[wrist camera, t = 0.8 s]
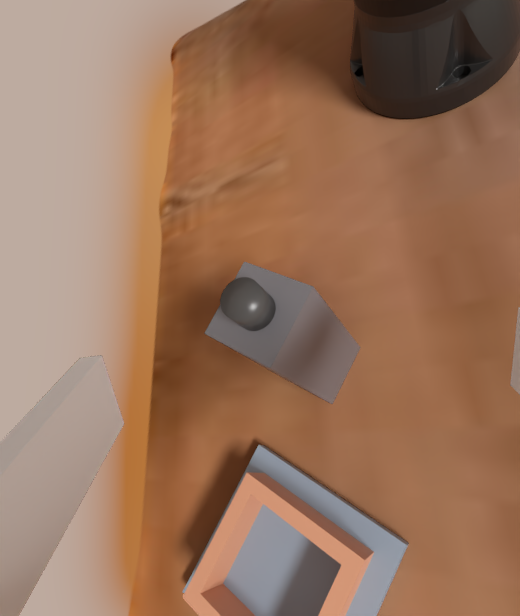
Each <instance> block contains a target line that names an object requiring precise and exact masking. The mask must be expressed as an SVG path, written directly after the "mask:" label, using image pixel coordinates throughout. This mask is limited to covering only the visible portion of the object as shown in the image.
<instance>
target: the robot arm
mask: <svg viewBox="0 0 520 616" xmlns="http://www.w3.org/2000/svg"><path fill="white" fill-rule="evenodd" d="M354 4H355V10H354V22H353V34H352V46H351V57H350V69H351V75H352V79H353V83H354V86H355V90H356V93H357V95H358V97H359V99H360V100H361V102H362V103H363V104H364V105H365V106H366V107H368V108H369V109H370V110H372V111H374V112H376V113H378V114H381V115H384V116H389V117H395V118H418V117H425V116H430V115H435V114H438V113H442V112H445V111H448V110H451V109H453V108H456V107H458V106H460V105H463V104H465V103H467V102H469V101H470V100H472V99H474V98H476V97H477V96H479V95H480V94H482V93H483V92H485V91H486V90H488V89H489V88H490V87H491V86H493V85H494V84H495V83H496V82H497V81H498V80H499V79H500V78H501V77H502V76H503V75H504V74H505V73H506V72H507V71H508V70H509V68H510V67H511V66H512V64H513V63H514V61H515V59H516V58H517V56H518V53H519V51H520V0H354ZM510 385H511V386H512V387H513V388H514V389H515V390H516V391H517V392H518V393H519V394H520V307H519V308H518V317H517V327H516V337H515V346H514V356H513V365H512V375H511V384H510ZM123 425H124V421H123V418H122V415H121V412H120V409H119V406H118V403H117V400H116V397H115V394H114V391H113V388H112V385H111V382H110V378H109V375H108V372H107V369H106V366H105V363H104V360H103V357H102V356H101V355H100V356H92V357H83V358H79V359H78V360H77V361H76V362H75V363H74V365H73V366H72V367H71V368H70V369H69V370H68V371H67V372H66V373H65V374H64V375H63V376H62V378H60V379H59V381H58V382H57V383H56V384H55V385H54V386H53V387H52V388H51V389H50V390H49V391H48V392H47V393H46V394H45V395H44V396H43V397H42V399H41V400H40V401H39V402H38V403H37V404H36V405H35V406H34V407H33V408H32V409H31V410H30V411H29V412H28V413H27V415H26V416H25V417H24V418H23V419H22V420H21V421H20V422H19V423H18V424H17V425H16V426H15V427H14V428H13V429H12V430H11V431H10V433H9V434H8V435H7V436H6V437H5V438H4V439H3V440H2V441H1V442H0V616H19V615H20V613H21V611H22V609H23V607H24V606H25V604H26V602H27V600H28V598H29V597H30V595H31V593H32V591H33V589H34V587H35V586H36V584H37V582H38V580H39V578H40V576H41V575H42V573H43V571H44V569H45V567H46V566H47V564H48V562H49V560H50V558H51V556H52V554H53V552H54V551H55V549H56V547H57V546H58V544H59V542H60V540H61V538H62V536H63V535H64V533H65V531H66V529H67V527H68V525H69V524H70V522H71V520H72V518H73V516H74V515H75V513H76V511H77V509H78V507H79V505H80V504H81V502H82V500H83V498H84V496H85V494H86V493H87V491H88V489H89V487H90V485H91V484H92V482H93V480H94V478H95V476H96V474H97V473H98V470H99V469H100V467H101V465H102V463H103V462H104V460H105V458H106V456H107V454H108V452H109V451H110V449H111V447H112V445H113V443H114V442H115V440H116V438H117V436H118V434H119V432H120V431H121V429H122V427H123Z"/></svg>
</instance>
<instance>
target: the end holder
mask: <svg viewBox="0 0 520 616" xmlns="http://www.w3.org/2000/svg"><path fill="white" fill-rule="evenodd" d="M408 544H409V543H408V542H406V541H405V540H404V539H402V538H401V537H399V536H398V535H396V534H395V533H393V532H392V531H390V530H389V529H387V528H386V527H384V526H383V525H381V524H380V523H378V522H377V521H375V520H374V519H372V518H371V517H369V516H368V515H366V514H365V513H363V512H362V511H361V510H359V509H358V508H356V507H355V506H353V505H352V504H350V503H349V502H347V501H346V500H344V499H343V498H341V497H340V496H338V495H337V494H335V493H334V492H332V491H331V490H329V489H328V488H326V487H325V486H323V485H322V484H321V483H319V482H318V481H316V480H315V479H313V478H312V477H310V476H309V475H307V474H306V473H304V472H303V471H301V470H300V469H298V468H297V467H295V466H294V465H292V464H291V463H289V462H288V461H286V460H285V459H283V458H282V457H280V456H279V455H278V454H276V453H275V452H273V451H272V450H270V449H269V448H267V447H266V446H264V445H258V447H257V449H256V451H255V453H254V455H253V457H252V459H251V460H250V462H249V464H248V466H247V468H246V470H245V472H244V474H243V476H242V478H241V480H240V482H239V484H238V486H237V488H236V490H235V491H234V493H233V495H232V497H231V499H230V501H229V503H228V505H227V507H226V509H225V511H224V513H223V515H222V517H221V519H220V520H219V522H218V524H217V526H216V528H215V530H214V532H213V534H212V536H211V538H210V540H209V542H208V544H207V546H206V548H205V550H204V551H203V553H202V555H201V557H200V559H199V561H198V563H197V565H196V567H195V569H194V571H193V573H192V575H191V577H190V579H189V581H188V582H187V584H186V586H185V588H184V590H183V593H184V595H183V597H182V598H183V599H184V600H185V601H186V602H187V603H188V604H189V605H190V606H191V607H192V609H193V610H194V611H195V612H196V613H197V614H198V615H199V616H377V614H378V612H379V609H380V607H381V605H382V603H383V600H384V598H385V596H386V594H387V591H388V589H389V587H390V585H391V582H392V580H393V578H394V576H395V573H396V571H397V569H398V566H399V564H400V562H401V560H402V557H403V555H404V553H405V551H406V548H407V546H408Z"/></svg>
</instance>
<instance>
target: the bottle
mask: <svg viewBox="0 0 520 616" xmlns="http://www.w3.org/2000/svg"><path fill="white" fill-rule="evenodd" d="M204 334H206V335H208V336H210V337H211V338H213V339H215V340H217V341H219V342H220V343H222V344H224V345H226V346H227V347H229V348H231V349H233V350H235V351H236V352H238V353H240V354H242V355H243V356H245V357H247V358H249V359H250V360H252V361H254V362H256V363H258V364H259V365H261V366H263V367H265V368H266V369H268V370H270V371H272V372H274V373H275V374H277V375H279V376H281V377H282V378H284V379H286V380H288V381H290V382H292V383H294V384H295V385H297V386H299V387H301V388H303V389H305V390H307V391H309V392H310V393H312V394H314V395H316V396H318V397H320V398H322V399H323V400H325V401H327V402H329V403H331V404H333V402H334V400H335V398H336V396H337V394H338V392H339V390H340V388H341V386H342V384H343V382H344V380H345V378H346V376H347V374H348V372H349V370H350V368H351V366H352V364H353V362H354V360H355V357H356V355H357V353H358V351H359V349H360V346H359V345H358V344H357V343H356V341H355V340H354V339H353V337H352V336H351V335H350V334H349V332H348V331H347V330H346V328H345V327H344V326H343V324H342V323H341V322H340V321H339V319H338V318H337V317H336V315H335V314H334V313H333V311H332V310H331V309H330V308H329V306H328V305H327V304H326V302H325V301H324V300H323V299H322V297H321V296H320V295H319V293H318V292H317V291H316V289H315V288H314V287H313V286H310V285H307V284H305V283H302V282H299V281H296V280H294V279H291V278H288V277H285V276H282V275H280V274H277V273H274V272H271V271H269V270H266V269H263V268H260V267H258V266H255V265H252V264H249V263H247V262H244V263H243V265H242V267H241V269H240V271H239V272H238V274H237V276H236V278H235V279H234V280H233V281H232V282H230V283H229V284H228V285H227V286H226V288H225V289H224V291H223V293H222V295H221V299H220V306H219V308H218V310H217V312H216V313H215V315H214V317H213V319H212V321H211V322H210V324H209V326H208V328H207V329H206V331H205V333H204Z"/></svg>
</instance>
